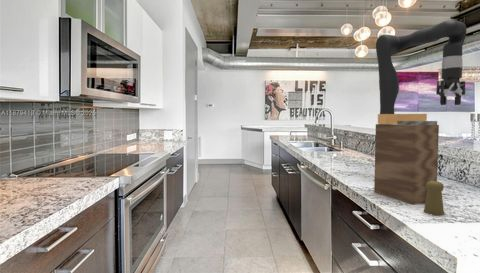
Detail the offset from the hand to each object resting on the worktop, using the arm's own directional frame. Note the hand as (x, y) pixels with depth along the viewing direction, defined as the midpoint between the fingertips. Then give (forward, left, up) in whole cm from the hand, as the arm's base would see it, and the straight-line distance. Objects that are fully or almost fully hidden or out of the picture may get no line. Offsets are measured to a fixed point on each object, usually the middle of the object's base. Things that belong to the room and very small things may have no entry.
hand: (450, 104), depth 137 cm
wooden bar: (-11, -22, -8) cm, 25 cm away
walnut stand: (-8, -26, -38) cm, 47 cm away
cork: (+8, -40, -38) cm, 56 cm away
